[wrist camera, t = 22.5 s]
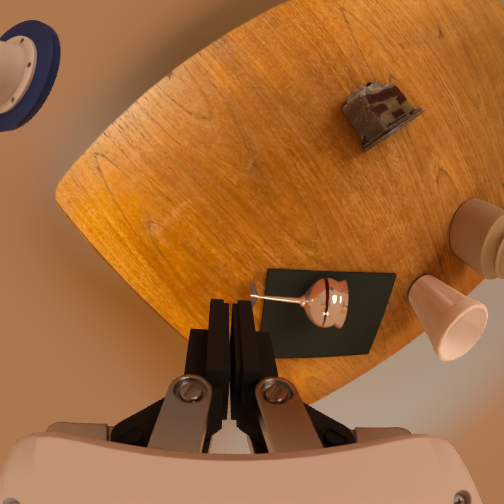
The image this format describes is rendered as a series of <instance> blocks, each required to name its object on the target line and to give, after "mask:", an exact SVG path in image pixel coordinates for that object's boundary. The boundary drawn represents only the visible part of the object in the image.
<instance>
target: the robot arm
mask: <svg viewBox="0 0 504 504" xmlns="http://www.w3.org/2000/svg"><path fill="white" fill-rule="evenodd" d="M36 64H37V50H36V46H35V44H34V42H33V41H32V40H31V39H30V38H28V37H25V36H16V37H13V38H11V39H9V40H8V41H6V42H3V41H0V114H2V113H6V112H8V111H10V110H11V109H13V108H14V107H15V106H16V105H17V104H18V103H19V102H20V100H21V99H22V98H23V96H24V95H25V93H26V92H27V90H28V88H29V86H30V84H31V81H32V79H33V76H34V73H35V69H36ZM229 382H230V403H231V420H236V423H237V427H239V429H240V430H241V431H243V432H244V433H246V434H247V441H248V444H249V448H250V451H251V454H209V453H210V448H211V442H212V435H214V434H215V433H216V432H218V431H219V430H220V429H222V420H227V409H228V396H229ZM0 504H482V501H481V499H480V497H479V494H478V492H477V489H476V487H475V485H474V482H473V480H472V478H471V476H470V475H469V472H468V470H467V468H466V466H465V465H464V463H463V461H462V459H461V458H460V456H459V455H458V453H457V452H456V451H455V449H454V448H453V446H452V445H451V444H450V443H449V442H448V441H446V440H445V439H443V438H441V437H438V436H434V435H428V434H427V435H426V434H411V433H410V432H409V431H408V430H406V429H404V428H399V427H393V428H361V427H360V428H359V427H356V428H355V429H354V430H350V429H349V428H347V427H346V426H344V425H343V424H341V423H339V422H337V421H335V420H333V419H332V418H330V417H328V416H326V415H324V414H322V413H321V412H319V411H317V410H315V409H314V408H312V407H310V406H308V405H307V404H305V403H303V402H302V400H301V397H300V395H299V393H298V391H297V389H296V387H295V386H294V384H293V383H291V382H290V381H289V380H287V379H285V378H281V377H278V372H277V367H276V362H275V357H274V352H273V347H272V342H271V337H270V333H269V332H256V331H255V324H254V317H253V310H252V303H251V301H246V300H238V303H237V304H235V303H233V305H232V319H231V332H230V340H229V303H224V299H211V301H210V314H209V328H208V330H206V329H191V330H190V336H189V343H188V350H187V357H186V365H185V373H184V375H182V376H180V377H177V378H176V379H174V380H173V381H172V382H171V384H170V386H169V388H168V391H167V394H166V397H164V398H163V399H161V400H159V401H158V402H155V403H154V404H152V405H150V406H148V407H147V408H145V409H143V410H142V411H139V412H138V413H136V414H134V415H132V416H130V417H129V418H127V419H125V420H123V421H121V422H119V423H118V424H117V425H115V426H108V425H107V424H90V423H68V422H56V423H54V424H52V425H50V426H49V427H48V429H47V431H46V432H38V433H32V434H27V435H25V436H22V437H21V438H19V439H18V440H17V441H16V442H15V443H14V444H13V446H12V447H11V449H10V450H9V452H8V454H7V456H6V458H5V460H4V462H3V464H2V467H1V469H0Z"/></svg>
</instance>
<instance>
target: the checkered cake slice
mask: <svg viewBox="0 0 504 504" xmlns="http://www.w3.org/2000/svg"><path fill="white" fill-rule="evenodd" d="M346 103H347V104H346V105H345V106H344V107H343V109H342V112H343V113H344V115H345V116H346V117H347V118H348V119H349V121H350V123H351V125H352V126H353V127H354V129H355V130H356V131H357V133H358V135H359V136H360V138H361V139H362V142H363V153H365V152H367V150H369V149H371V148H372V147H373V146H375V145H376V144H377V143H379V142H381V141H382V140H384V139H386V138H388V137H389V136H390V135H392V134H393V133H395V131H397V130H399V129H400V128H402V127H403V126H405V125H406V124H408V122H410V121H411V120H413V119H414V118H416V117H417V116H418V115H420V114H421V113H423V112H424V111H426V110H423V109H421V108H418V109H414V108H413V106H412V105H411V104H410V103H409V102H408V101H407V99H406V97H405V96H404V94H403V93H402V92H401V91H400V90H399V89H398V87H396V86H395V85H394V84H393V83H391V84H386V85H385V86H383V85H382V84H381V83H380V82H379V81H376V82H375V83H374V84H372V83H368V84H367V87H366V86H365V85H360V87H359V89H356V90H354V91H353V92H352V93H351V94H350V95H349V96H348V97H347V99H346Z"/></svg>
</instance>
